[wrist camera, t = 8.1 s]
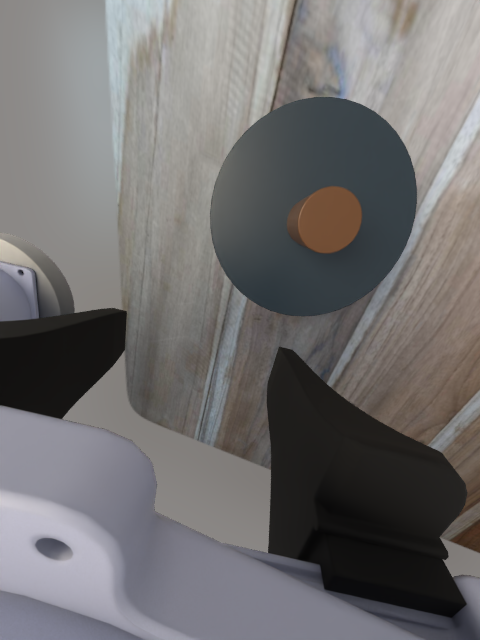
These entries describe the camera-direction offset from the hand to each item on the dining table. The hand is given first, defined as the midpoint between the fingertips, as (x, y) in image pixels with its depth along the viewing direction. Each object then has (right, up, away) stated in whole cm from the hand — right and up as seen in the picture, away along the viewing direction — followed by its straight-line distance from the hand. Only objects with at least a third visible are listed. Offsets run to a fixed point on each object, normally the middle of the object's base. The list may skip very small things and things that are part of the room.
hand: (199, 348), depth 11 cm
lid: (+6, +7, +2) cm, 9 cm away
